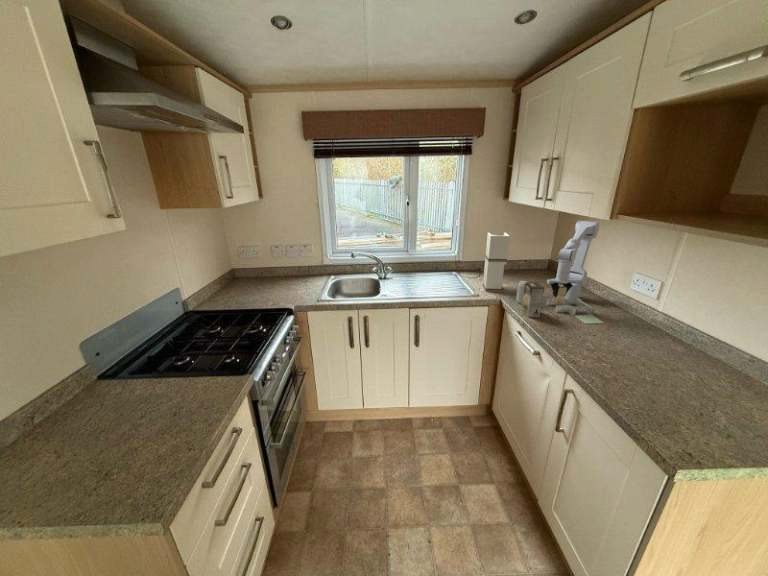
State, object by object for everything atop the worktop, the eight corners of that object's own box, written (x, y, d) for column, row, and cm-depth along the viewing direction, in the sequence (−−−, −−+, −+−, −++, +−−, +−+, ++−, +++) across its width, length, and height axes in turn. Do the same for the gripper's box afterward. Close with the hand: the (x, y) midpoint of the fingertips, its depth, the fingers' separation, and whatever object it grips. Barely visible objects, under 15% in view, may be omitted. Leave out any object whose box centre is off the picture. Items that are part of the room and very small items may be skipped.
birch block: (552, 300, 165) (555, 285, 162) (559, 300, 165) (562, 285, 162) (556, 303, 161) (559, 287, 158) (563, 303, 161) (566, 287, 158)
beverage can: (529, 304, 169) (532, 284, 165) (517, 304, 170) (519, 284, 166) (526, 300, 175) (529, 280, 171) (514, 299, 176) (517, 280, 172)
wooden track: (546, 304, 169) (547, 298, 168) (575, 303, 169) (576, 298, 168) (560, 315, 155) (562, 309, 154) (592, 315, 155) (594, 308, 154)
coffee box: (520, 309, 163) (524, 281, 158) (533, 309, 163) (537, 281, 157) (527, 317, 154) (531, 287, 149) (540, 317, 154) (545, 287, 149)
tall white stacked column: (503, 292, 188) (509, 235, 176) (485, 291, 190) (490, 235, 178) (499, 286, 199) (505, 232, 187) (482, 285, 200) (487, 232, 189)
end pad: (574, 315, 155) (574, 315, 154) (591, 315, 154) (592, 314, 154) (585, 323, 146) (585, 323, 146) (603, 323, 146) (604, 322, 146)
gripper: (553, 274, 153) (549, 299, 158) (582, 273, 153) (577, 298, 158) (546, 270, 160) (542, 294, 165) (574, 269, 160) (569, 293, 164)
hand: (559, 296), depth 162 cm, fingers closed on birch block, 4 cm apart
